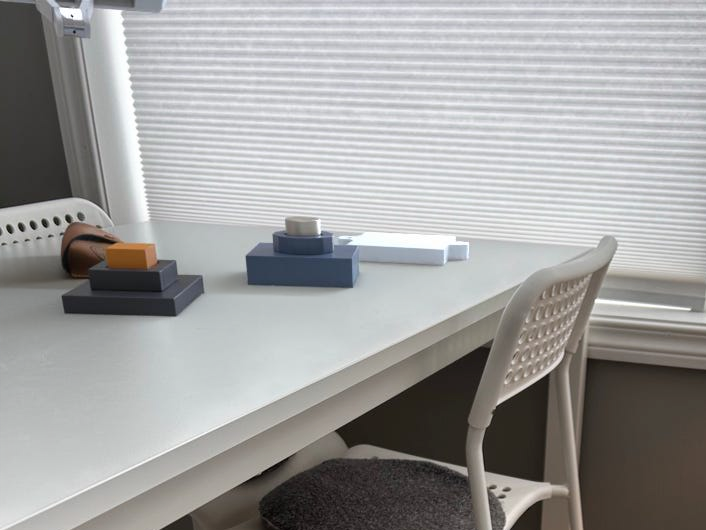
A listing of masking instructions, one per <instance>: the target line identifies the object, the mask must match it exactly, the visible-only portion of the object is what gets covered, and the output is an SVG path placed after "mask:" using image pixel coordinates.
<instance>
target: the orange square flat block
mask: <svg viewBox="0 0 706 530" xmlns="http://www.w3.org/2000/svg"><path fill="white" fill-rule="evenodd" d="M156 249H157V248H156V244H155V243H145V242H144V243H142V242H124V243H115V244H113V245H111V246H109V247H107V248H105V250H106V256H107V263H108V268H133V269H151V268H152V267H154V266H155V265H157V260H158V258H157V257H158V256H157V250H156Z"/></svg>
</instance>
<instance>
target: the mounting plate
mask: <svg viewBox="0 0 706 530" xmlns="http://www.w3.org/2000/svg"><path fill="white" fill-rule="evenodd" d="M337 245H355V246H358V249H359V260H362V261H361V262H375V261H377V263H399V264H417V265H436V266H445V264H446V263H447V262H448V261H451V260H452V261H453V260H459V261H465V260H468V259H469V251H470V249H469V248H470V242H468V241H459V240H458V241H457V239H456V236H455V235H435V234H419V233H418V234H417V233H416V234H415V233H397V232H396V233H395V232H377V231H375V232H374V231H365V232H364V233H362V234H360V235H340V236H338V237H337Z"/></svg>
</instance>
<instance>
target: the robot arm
mask: <svg viewBox="0 0 706 530" xmlns="http://www.w3.org/2000/svg"><path fill="white" fill-rule="evenodd" d="M0 2H9V3H20V4H21V3H22V4H35V7H36V10H37V11H38V12H39V13H40V14H41V15H42V16H43V17H45V18H46V19H47V20H48V22H50V23H51V24H53V27H54V29H55V33H56V36H57V37H58V38H75V39H76V38H77V39H91V22H90V21H91V18H92V17H93V14H94V9H100V10H101V9H102V10H112V11H113V10H114V11H128V12H137V13H138V12H140V13H153V14H160V13H162V11H163V10H164V9H165V8H166V6H167V2H168V0H0ZM70 7H72V8H70ZM74 7H75V8H74Z"/></svg>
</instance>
